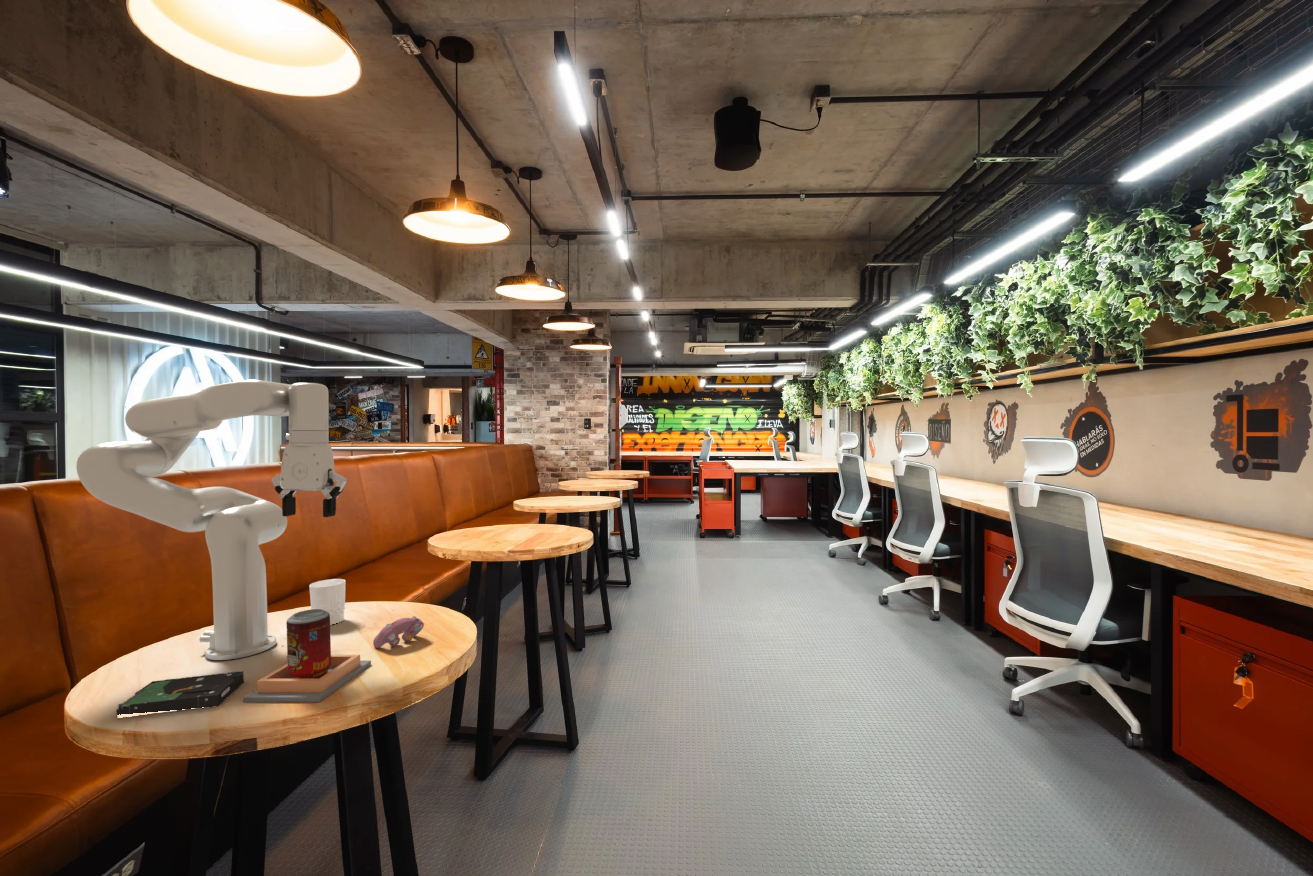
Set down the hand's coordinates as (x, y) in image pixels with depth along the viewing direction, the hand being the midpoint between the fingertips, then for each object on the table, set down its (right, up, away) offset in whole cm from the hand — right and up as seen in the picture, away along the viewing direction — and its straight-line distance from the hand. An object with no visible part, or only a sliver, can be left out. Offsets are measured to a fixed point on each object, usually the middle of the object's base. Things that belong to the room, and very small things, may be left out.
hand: (309, 516), depth 125 cm
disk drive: (-7, -30, -24) cm, 39 cm away
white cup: (-6, -29, +17) cm, 34 cm away
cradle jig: (+12, -29, -18) cm, 36 cm away
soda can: (+11, -28, -18) cm, 35 cm away
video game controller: (+20, -29, +1) cm, 35 cm away
